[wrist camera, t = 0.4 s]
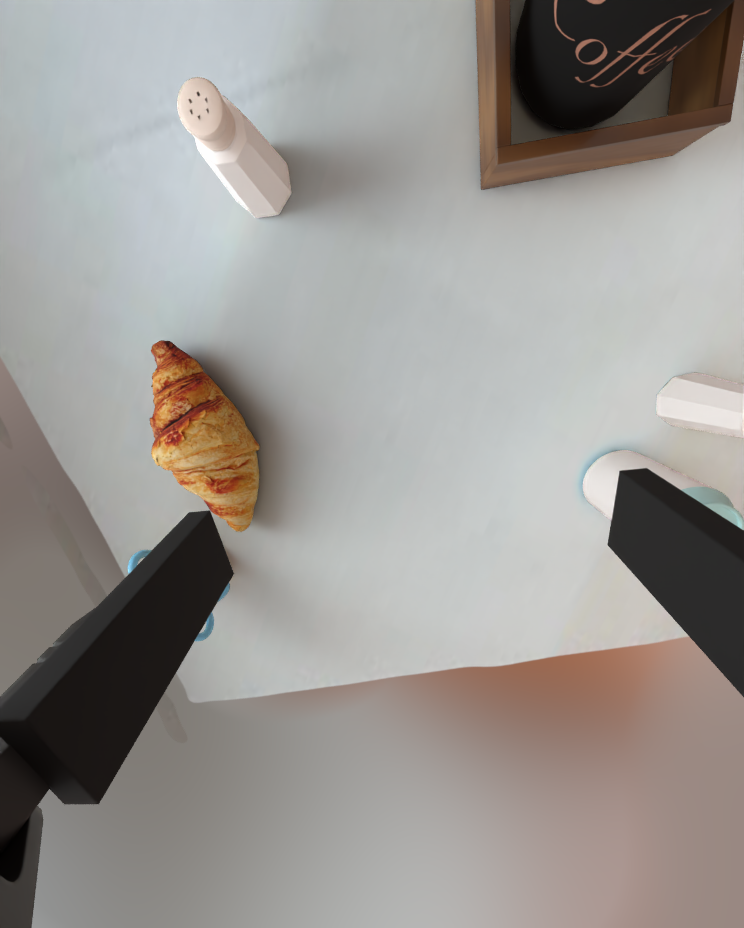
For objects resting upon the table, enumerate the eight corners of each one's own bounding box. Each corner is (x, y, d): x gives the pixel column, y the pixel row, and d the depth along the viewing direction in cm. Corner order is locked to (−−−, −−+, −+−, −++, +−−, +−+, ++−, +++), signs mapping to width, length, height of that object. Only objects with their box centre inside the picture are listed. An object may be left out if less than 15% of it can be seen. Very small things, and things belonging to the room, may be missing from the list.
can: (580, 512, 40) (656, 581, 29) (578, 455, 38) (659, 506, 27) (645, 500, 40) (749, 566, 28) (647, 441, 37) (760, 487, 26)
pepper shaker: (270, 130, 29) (207, 18, 19) (304, 197, 31) (263, 128, 21) (218, 169, 30) (132, 83, 20) (254, 232, 32) (191, 183, 22)
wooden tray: (471, -73, 25) (491, -170, 20) (708, -130, 24) (789, -247, 19) (479, 191, 30) (497, 164, 26) (673, 157, 29) (730, 121, 24)
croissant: (280, 503, 45) (294, 526, 38) (199, 538, 42) (199, 570, 35) (210, 333, 38) (212, 322, 31) (106, 359, 35) (82, 353, 28)
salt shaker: (644, 420, 36) (746, 454, 26) (667, 367, 35) (787, 380, 24) (694, 429, 37) (816, 466, 26) (720, 376, 35) (862, 394, 24)
